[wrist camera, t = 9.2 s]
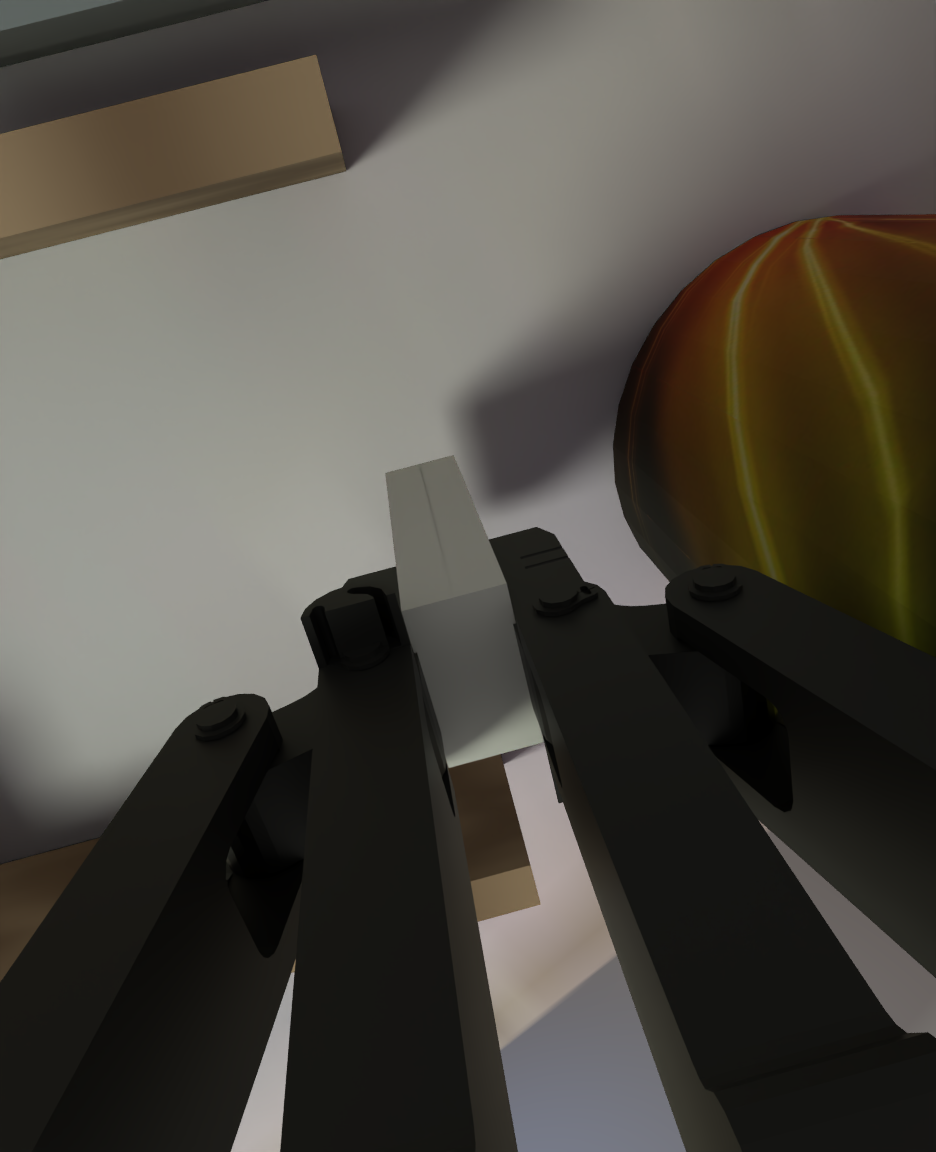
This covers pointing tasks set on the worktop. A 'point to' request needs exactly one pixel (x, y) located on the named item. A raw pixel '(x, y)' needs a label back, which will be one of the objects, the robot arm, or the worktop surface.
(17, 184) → the wooden frame
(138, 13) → the tray
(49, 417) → the worktop surface
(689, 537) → the mug
